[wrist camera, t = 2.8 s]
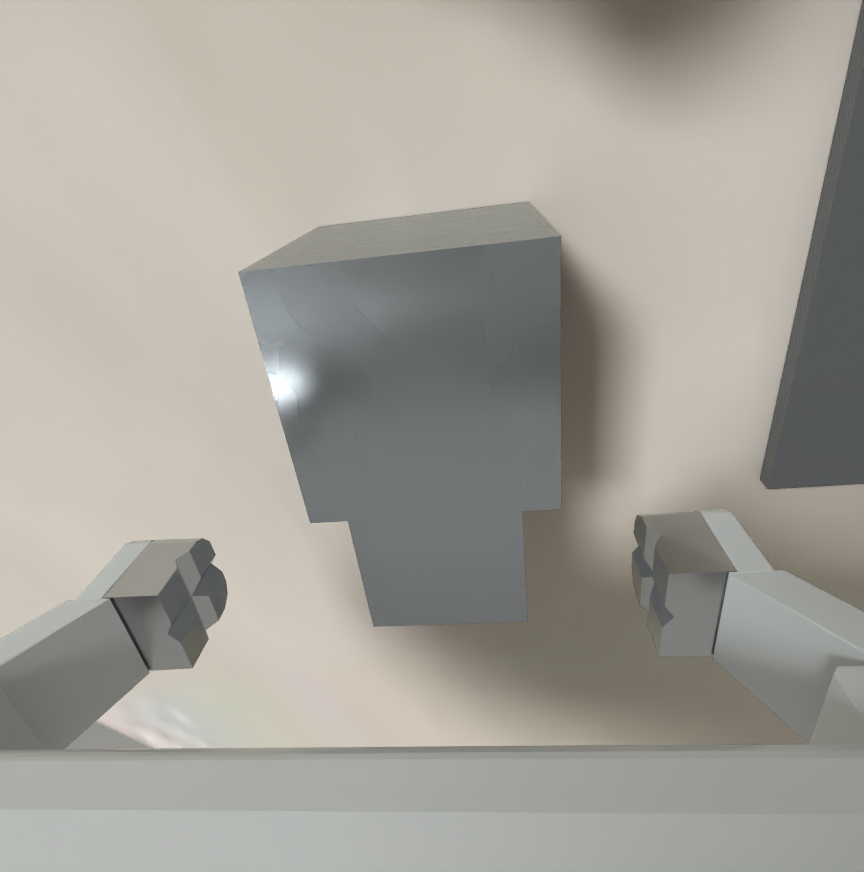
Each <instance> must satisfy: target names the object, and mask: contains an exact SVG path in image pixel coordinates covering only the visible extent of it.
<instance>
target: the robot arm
mask: <svg viewBox="0 0 864 872" xmlns="http://www.w3.org/2000/svg"><path fill="white" fill-rule="evenodd" d="M634 535H635V538H636V540H637V543H638V545H639V546H638V547H637V548H636V549H635V550H634V552H633V553H632V576H633V584H634V588H635V592H636V596H637V598H638V601H639V604H640V605H641V606H642V607H643V608H645V609H646V610H647V611H648V622H647V625H648V628H649V631H650V633H651V636H652V639H653V641H654V644H655V646H656V649H657V652H658V654H659V656H713V660H715V661H716V662H717V663H718V664H719V665H720V666H721V667H722V668H724V669H725V670H726V671H727V672H728V673H729V674H730V675H731V676H733V677H734V678H735V679H736V680H737V681H738V682H739V683H741V684H742V685H743V686H744V687H745V688H746V689H747V690H748V691H750V692H751V693H752V694H753V695H754V696H755V697H756V698H757V699H759V700H760V701H761V702H762V703H763V704H764V705H765V706H766V707H768V708H769V709H770V710H771V711H772V712H773V713H774V714H775V715H777V716H778V717H779V718H780V719H781V720H782V721H783V722H785V723H786V724H787V725H788V726H789V727H790V728H791V729H792V730H794V731H795V732H796V733H797V734H798V735H799V736H800V737H801V738H803V739H804V740H805V741H806V742H807V743H808V744H729V745H583V746H447V747H310V748H174V749H65V748H66V747H67V746H68V745H69V744H71V743H72V742H73V741H74V740H75V739H76V738H77V737H79V736H80V735H81V734H82V733H83V732H84V731H85V730H86V729H88V727H90V726H91V725H92V724H93V723H94V722H95V721H96V720H98V719H99V718H100V717H101V716H102V715H103V714H104V713H105V712H107V711H108V710H109V709H110V708H111V707H112V706H113V705H114V704H115V703H117V702H118V701H119V700H120V699H121V698H122V697H123V696H124V695H126V694H127V693H128V692H129V691H130V690H131V689H132V688H133V687H134V686H136V685H137V684H138V683H139V682H140V681H141V680H142V679H143V678H145V677H146V676H147V675H148V674H149V671H151V670H169V669H187V668H193V667H194V665H195V663H196V661H197V659H198V658H199V656H200V654H201V652H202V650H203V648H204V647H205V645H206V643H207V641H208V639H209V638H208V635H207V631H206V629H208V628H209V627H210V626H212V625H213V624H214V623H216V622H217V621H218V620H219V619H220V617H221V615H222V613H223V611H224V609H225V605H226V599H227V585H226V580H225V577H224V575H223V572H222V571H220V570H219V569H218V568H217V567H215V566H214V565H213V564H212V562H213V559H214V557H215V555H216V554H215V552H214V550H213V548H212V546H211V543H210V541H207V540H205V539H203V538H200V539H168V540H146V541H133V542H130V543H127V544H125V545H124V546H123V547H122V548H121V550H120V551H119V552H118V553H117V554H116V555H115V556H114V557H113V559H112V560H111V561H110V562H109V563H108V564H107V565H106V566H105V567H104V569H103V570H102V571H101V572H100V573H99V574H98V575H97V576H96V578H95V579H94V580H93V581H92V582H91V583H90V584H89V585H88V587H87V588H86V589H85V590H84V591H83V592H82V593H81V594H80V595H79V597H78V598H77V599H76V600H68V601H66V602H64V603H62V604H61V605H59V606H57V607H55V608H54V609H52V610H50V611H48V612H47V613H45V614H43V615H41V616H39V617H38V618H36V619H34V620H32V621H31V622H29V623H27V624H25V625H24V626H22V627H20V628H18V629H17V630H15V631H13V632H11V633H10V634H8V635H6V636H4V637H3V638H1V639H0V872H864V612H863V611H861V610H859V609H857V608H855V607H853V606H852V605H850V604H848V603H846V602H844V601H842V600H840V599H838V598H836V597H834V596H832V595H830V594H829V593H827V592H825V591H823V590H821V589H819V588H817V587H815V586H813V585H811V584H809V583H808V582H806V581H804V580H802V579H800V578H798V577H796V576H794V575H792V574H790V573H788V572H787V571H785V570H777V571H775V570H774V569H773V568H772V566H771V565H770V564H769V562H768V561H767V560H766V558H765V557H764V556H763V554H762V553H761V552H760V550H759V549H758V547H757V546H756V545H755V543H754V542H753V541H752V539H751V538H750V537H749V535H748V534H747V533H746V531H745V530H744V529H743V527H742V526H741V525H740V523H739V522H738V520H737V519H736V518H735V516H734V515H733V514H732V512H731V511H729V510H727V509H726V508H722V509H710V510H698V511H695V512H681V513H664V514H647V515H637V516H636V519H635V524H634Z"/></svg>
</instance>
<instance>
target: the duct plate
mask: <svg viewBox="0 0 864 872" xmlns="http://www.w3.org/2000/svg"><path fill="white" fill-rule="evenodd" d="M760 480H761V481H762V482H763V484H764V485H765V486H766V487H767V488H768V489H779V488H797V487H815V486H832V485H850V484H864V0H863V2H862V6H861V11H860V16H859V20H858V25H857V30H856V34H855V39H854V44H853V48H852V53H851V58H850V62H849V67H848V72H847V76H846V81H845V86H844V90H843V95H842V100H841V104H840V109H839V114H838V118H837V123H836V128H835V132H834V137H833V142H832V146H831V151H830V156H829V160H828V165H827V170H826V174H825V179H824V184H823V188H822V193H821V197H820V202H819V207H818V211H817V216H816V221H815V225H814V230H813V235H812V239H811V244H810V249H809V253H808V258H807V263H806V267H805V272H804V277H803V281H802V286H801V291H800V295H799V300H798V305H797V309H796V314H795V319H794V323H793V328H792V333H791V337H790V342H789V347H788V351H787V356H786V361H785V365H784V370H783V375H782V379H781V384H780V389H779V393H778V398H777V403H776V407H775V412H774V417H773V421H772V426H771V431H770V435H769V440H768V445H767V449H766V454H765V459H764V463H763V468H762V473H761V477H760Z"/></svg>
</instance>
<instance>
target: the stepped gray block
mask: <svg viewBox="0 0 864 872" xmlns="http://www.w3.org/2000/svg"><path fill="white" fill-rule="evenodd" d="M238 273H239V276H240V280H241V283H242V287H243V290H244V294H245V297H246V301H247V304H248V308H249V311H250V315H251V318H252V322H253V325H254V329H255V332H256V336H257V339H258V343H259V346H260V350H261V353H262V356H263V360H264V363H265V367H266V370H267V374H268V377H269V381H270V384H271V388H272V391H273V395H274V398H275V402H276V405H277V409H278V412H279V416H280V419H281V423H282V426H283V430H284V433H285V437H286V440H287V444H288V447H289V451H290V454H291V458H292V461H293V465H294V468H295V472H296V475H297V479H298V482H299V485H300V489H301V492H302V496H303V499H304V503H305V506H306V510H307V513H308V517H309V520H310V523H320V522H338V521H348V524H349V528H350V532H351V536H352V540H353V544H354V548H355V552H356V557H357V561H358V565H359V569H360V573H361V577H362V581H363V585H364V589H365V594H366V598H367V602H368V606H369V610H370V614H371V618H372V622H373V626H374V627H376V626H408V625H440V624H471V623H503V622H527V601H526V578H525V556H524V534H523V511H539V510H557V509H561V236H560V235H559V234H558V233H557V232H556V230H555V229H554V228H553V227H552V226H551V225H550V224H549V223H548V222H547V221H546V220H545V219H544V218H543V217H542V215H541V214H540V213H539V212H538V211H537V210H536V209H535V208H534V207H533V206H532V205H531V204H530V203H529V202H522V203H513V204H505V205H497V206H488V207H480V208H472V209H463V210H455V211H447V212H438V213H430V214H422V215H413V216H405V217H397V218H388V219H380V220H372V221H363V222H355V223H347V224H339V225H330V226H322V227H317V228H315V229H314V230H312V231H310V232H308V233H307V234H305V235H303V236H301V237H299V238H298V239H296V240H294V241H292V242H291V243H289V244H287V245H285V246H284V247H282V248H280V249H278V250H277V251H275V252H273V253H271V254H270V255H268V256H266V257H264V258H263V259H261V260H259V261H257V262H256V263H254V264H252V265H250V266H249V267H247V268H245V269H243V270H241V271H240V272H238Z"/></svg>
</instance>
